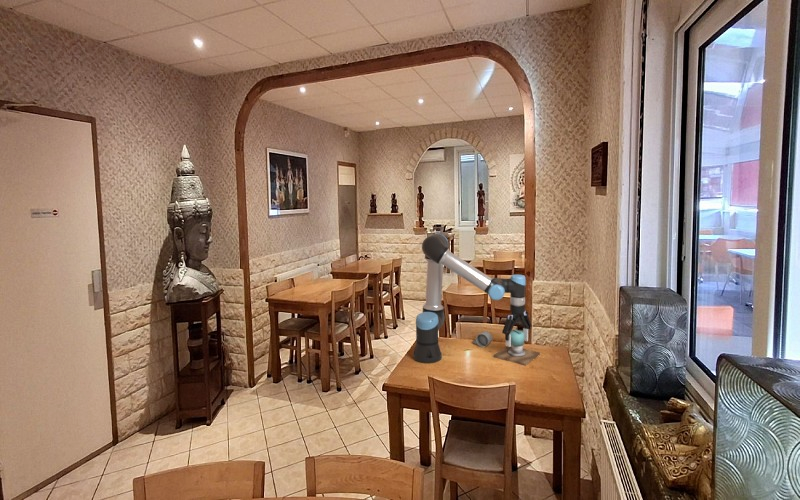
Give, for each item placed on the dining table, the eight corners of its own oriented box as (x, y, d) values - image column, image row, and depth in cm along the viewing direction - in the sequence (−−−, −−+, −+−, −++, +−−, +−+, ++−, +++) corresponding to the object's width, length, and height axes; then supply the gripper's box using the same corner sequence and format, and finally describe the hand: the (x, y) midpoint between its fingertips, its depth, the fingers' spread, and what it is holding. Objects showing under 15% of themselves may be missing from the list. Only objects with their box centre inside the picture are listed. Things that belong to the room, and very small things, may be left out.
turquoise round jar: (526, 344, 218) (527, 332, 217) (514, 346, 216) (514, 333, 215) (519, 340, 225) (519, 328, 224) (507, 341, 223) (507, 329, 222)
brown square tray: (493, 357, 220) (493, 344, 219) (508, 347, 234) (509, 335, 233) (525, 365, 209) (525, 352, 208) (539, 354, 222) (540, 342, 221)
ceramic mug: (493, 343, 240) (493, 330, 239) (488, 348, 233) (488, 335, 232) (475, 340, 245) (475, 328, 244) (470, 345, 238) (470, 332, 237)
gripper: (506, 310, 207) (506, 350, 210) (539, 301, 221) (538, 340, 224) (495, 306, 214) (495, 346, 217) (527, 299, 227) (526, 336, 230)
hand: (516, 343), depth 220 cm, fingers open, 13 cm apart
